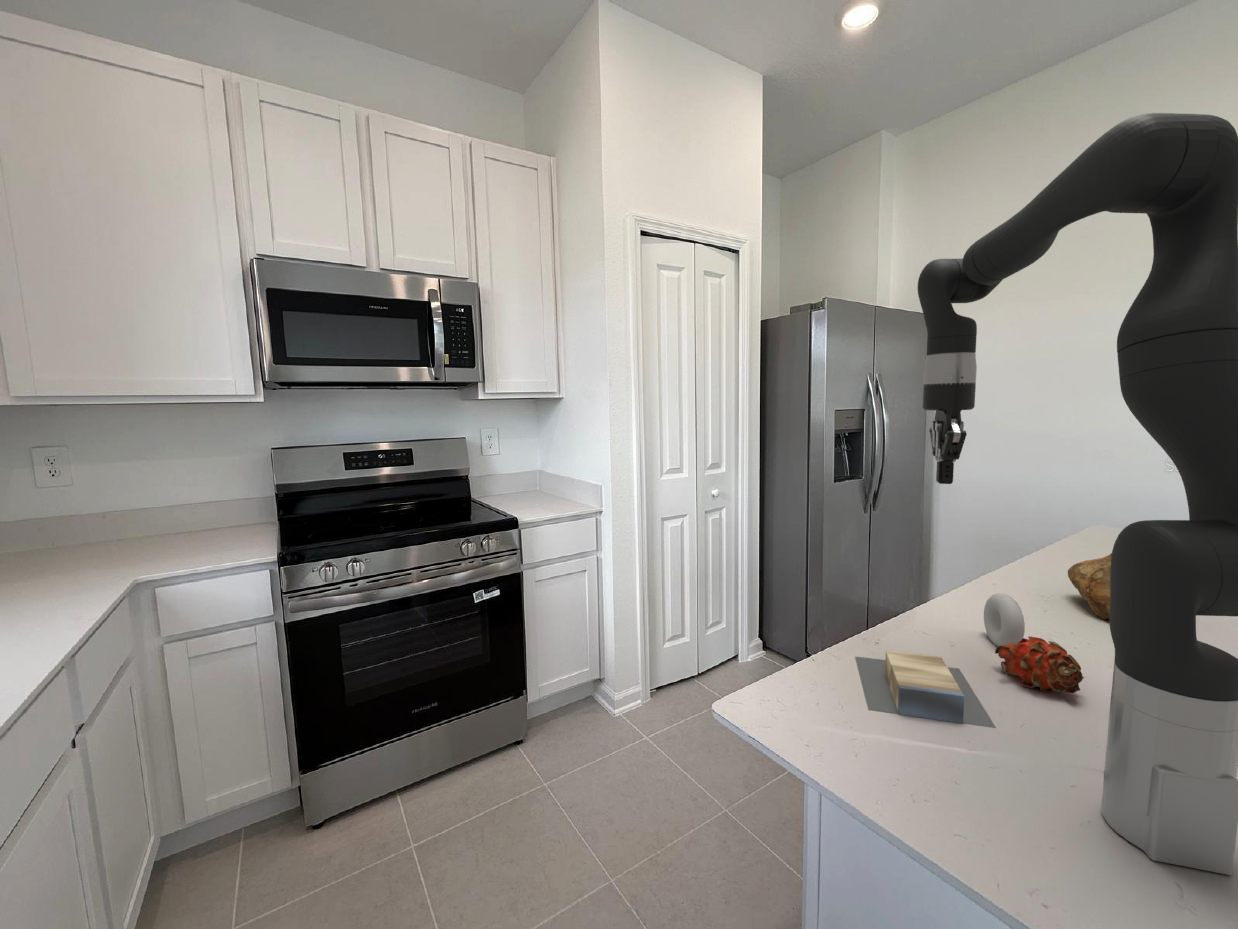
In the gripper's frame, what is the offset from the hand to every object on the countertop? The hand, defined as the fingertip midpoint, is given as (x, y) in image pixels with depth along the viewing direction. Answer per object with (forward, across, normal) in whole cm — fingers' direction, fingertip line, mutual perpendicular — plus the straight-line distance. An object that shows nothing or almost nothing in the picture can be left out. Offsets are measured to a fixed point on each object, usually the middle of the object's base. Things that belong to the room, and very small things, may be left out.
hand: (944, 483), depth 92 cm
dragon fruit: (+31, -8, -12) cm, 34 cm away
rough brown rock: (+31, +32, -41) cm, 61 cm away
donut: (+31, +6, -12) cm, 34 cm away
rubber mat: (+31, -14, +6) cm, 35 cm away
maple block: (+28, -11, +6) cm, 31 cm away
